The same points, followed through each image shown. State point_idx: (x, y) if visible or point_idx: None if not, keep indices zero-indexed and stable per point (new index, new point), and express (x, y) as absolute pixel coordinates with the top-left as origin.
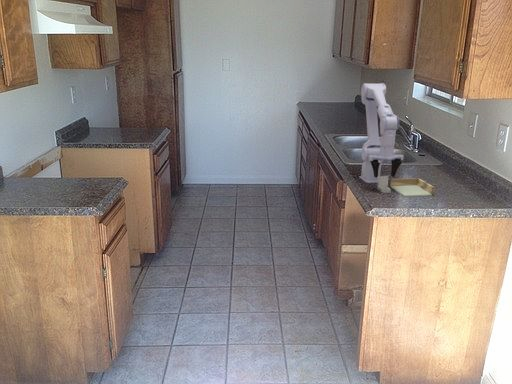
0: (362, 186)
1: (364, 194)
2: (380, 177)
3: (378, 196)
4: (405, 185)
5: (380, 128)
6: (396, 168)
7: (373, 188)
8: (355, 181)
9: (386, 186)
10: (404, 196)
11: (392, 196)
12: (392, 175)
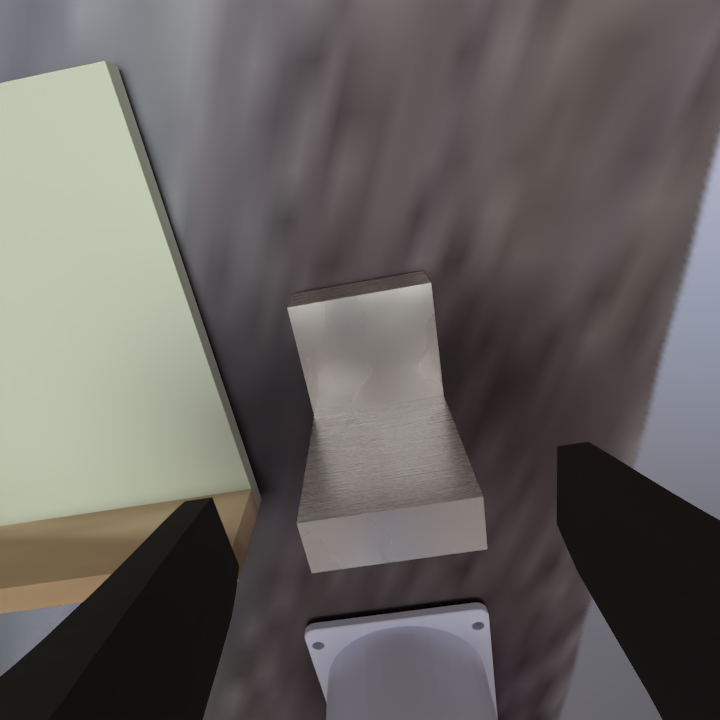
0: None
1: (691, 201)
2: (463, 492)
3: (521, 105)
4: (70, 516)
5: None
6: (33, 685)
7: (466, 451)
8: (572, 639)
9: (330, 414)
10: (113, 65)
11: (303, 117)
12: (215, 541)
